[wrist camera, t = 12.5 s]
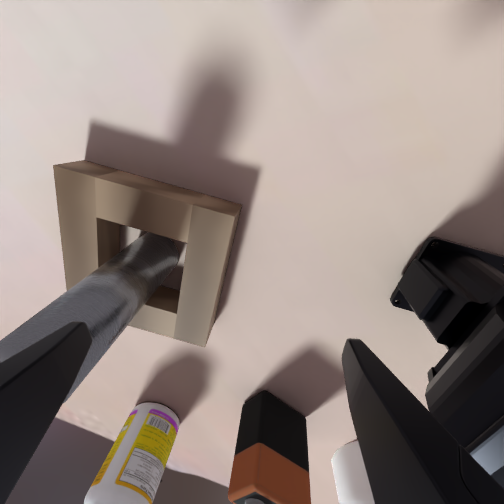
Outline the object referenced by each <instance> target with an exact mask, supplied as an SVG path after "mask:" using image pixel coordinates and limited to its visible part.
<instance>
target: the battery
mask: <svg viewBox="0 0 504 504" xmlns="http://www.w3.org/2000/svg"><path fill="white" fill-rule="evenodd" d="M228 499H229V500H230V501H231V502H232V503H234V504H311V497H310V479H309V462H308V445H307V428H306V419H305V417H304V416H302V415H301V414H300V413H298V412H297V411H295V410H294V409H292V408H291V407H289V406H288V405H286V404H285V403H283V402H282V401H280V400H279V399H277V398H276V397H274V396H273V395H271V394H270V393H268V392H267V391H263V392H261V393H260V394H258V395H257V396H255V397H254V398H252V399H251V400H249V401H248V402H246V403H245V404H244V405H243V407H242V413H241V419H240V425H239V431H238V437H237V443H236V449H235V455H234V461H233V467H232V473H231V479H230V485H229V491H228Z"/></svg>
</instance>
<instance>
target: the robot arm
mask: <svg viewBox="0 0 504 504" xmlns="http://www.w3.org/2000/svg"><path fill="white" fill-rule="evenodd" d="M434 242H436V244H435V245H434V246H431V245H432V243H434ZM503 264H504V256H501V255H498V254H494V253H491V252H487V251H484V250H480V249H477V248H473V247H469V246H466V245H462V244H459V243H455V242H452V241H448V240H445V239H441V238H438V237H431V238H429V239H427V241H426V242H425V243H424V245H423V247H422V248H421V250H420V251H419V253H418V255H417V256H416V258H415V259H414V260H413V261H412V262H411V264H410V265H409V267H408V269H407V270H406V272H405V273H404V275H403V277H402V278H401V280H400V281H399V283H398V285H397V286H398V287H397V288H396V290H395V292H394V293H393V295H392V296H391V298H390V301H391V303H392V305H393V306H395V307H399V308H402V309H406V310H409V311H413V312H415V314H416V315H417V317H418V318H419V319H420V320H422V321H423V322H424V323H425V325H426V326H427V328H428V329H429V331H430V332H431V334H432V335H433V337H434V338H435V339H436V341H437V342H438V343H440V344H443V345H445V346H446V348H447V349H448V352H447V353H446V354H445V355H444V357H443V358H442V359H441V360H440V361H439V363H438V364H437V365H436V366H435V367H432V368H431V369H430V370H429V372H428V379H429V384H428V385H427V389H426V393H425V396H426V401H427V405H428V409H429V411H430V412H429V411H428V410H427V409H426V408H425V407H424V406H423V405H422V404H421V402H420V401H419V400H418V399H417V398H416V397H415V396H414V395H413V394H412V393H411V392H410V391H409V390H408V389H407V388H406V387H405V386H404V385H403V384H402V382H401V381H400V380H399V379H398V378H397V377H396V376H395V375H394V374H393V373H392V372H391V371H390V370H389V369H388V368H387V367H386V366H385V365H384V364H383V363H382V361H381V360H380V359H379V358H378V357H377V356H376V355H375V354H374V353H373V352H372V351H371V350H370V349H369V348H368V347H367V346H366V345H365V344H364V343H363V341H361V340H360V339H351V338H349V339H347V341H346V343H345V346H344V350H343V353H342V365H343V371H344V377H345V384H346V390H347V396H348V402H349V408H350V412H351V416H352V420H353V424H354V428H355V431H356V435H357V439H358V442H359V446H360V450H361V454H362V457H363V461H364V465H365V469H366V472H367V476H368V480H369V484H370V487H371V491H372V495H373V499H374V502H375V504H504V265H503ZM396 300H399V301H397V302H395V301H396ZM91 344H92V336H91V334H90V332H89V329H88V327H87V325H86V323H84V322H76V321H74V322H70V323H68V324H66V325H65V326H63V327H61V328H60V329H58V330H56V331H54V332H53V333H51V334H49V335H48V336H46V337H44V338H42V339H41V340H39V341H37V342H35V343H34V344H32V345H30V346H29V347H27V348H25V349H23V350H22V351H20V352H18V353H16V354H15V355H13V356H11V357H10V358H8V359H6V360H4V361H3V362H1V363H0V504H5V502H6V501H7V499H8V497H9V496H10V494H11V492H12V490H13V489H14V487H15V485H16V483H17V482H18V480H19V478H20V476H21V475H22V473H23V471H24V470H25V468H26V466H27V464H28V463H29V461H30V459H31V457H32V456H33V454H34V452H35V450H36V449H37V447H38V445H39V444H40V442H41V440H42V438H43V437H44V435H45V433H46V431H47V430H48V428H49V426H50V424H51V423H52V421H53V419H54V418H55V416H56V414H57V412H58V411H59V409H60V407H61V405H62V404H63V402H64V400H65V399H66V397H67V395H68V393H69V391H70V390H71V388H72V386H73V384H74V382H75V379H76V377H77V375H78V373H79V371H80V369H81V366H82V364H83V362H84V360H85V358H86V356H87V353H88V351H89V349H90V347H91Z"/></svg>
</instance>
